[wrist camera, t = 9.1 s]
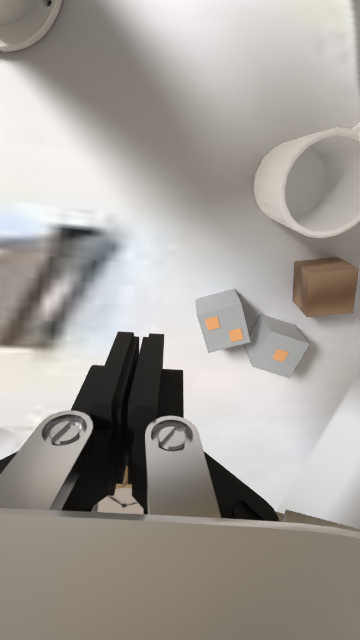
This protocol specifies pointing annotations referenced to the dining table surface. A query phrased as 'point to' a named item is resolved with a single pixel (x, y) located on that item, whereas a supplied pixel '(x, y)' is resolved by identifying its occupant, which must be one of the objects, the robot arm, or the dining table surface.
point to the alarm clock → (121, 500)
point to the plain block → (324, 286)
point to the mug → (313, 182)
